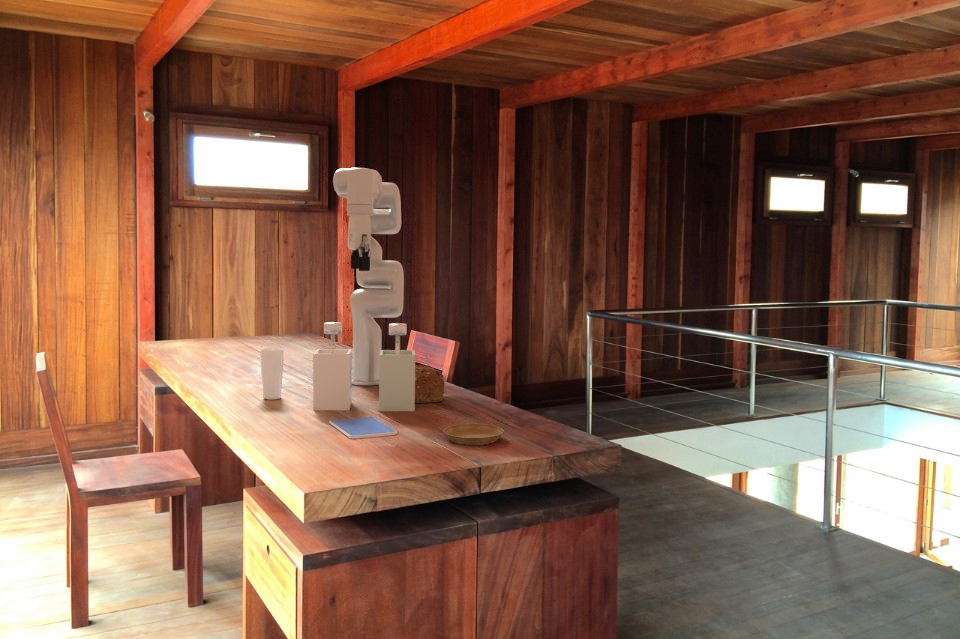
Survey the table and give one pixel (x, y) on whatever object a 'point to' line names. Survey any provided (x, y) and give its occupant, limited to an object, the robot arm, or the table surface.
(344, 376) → the press white
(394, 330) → the silver rod piece
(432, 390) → the bread
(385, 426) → the tablet computer
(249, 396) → the table surface
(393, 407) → the press sage
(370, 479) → the table surface
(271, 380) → the drinking glass
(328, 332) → the plunger white
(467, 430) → the plant saucer
